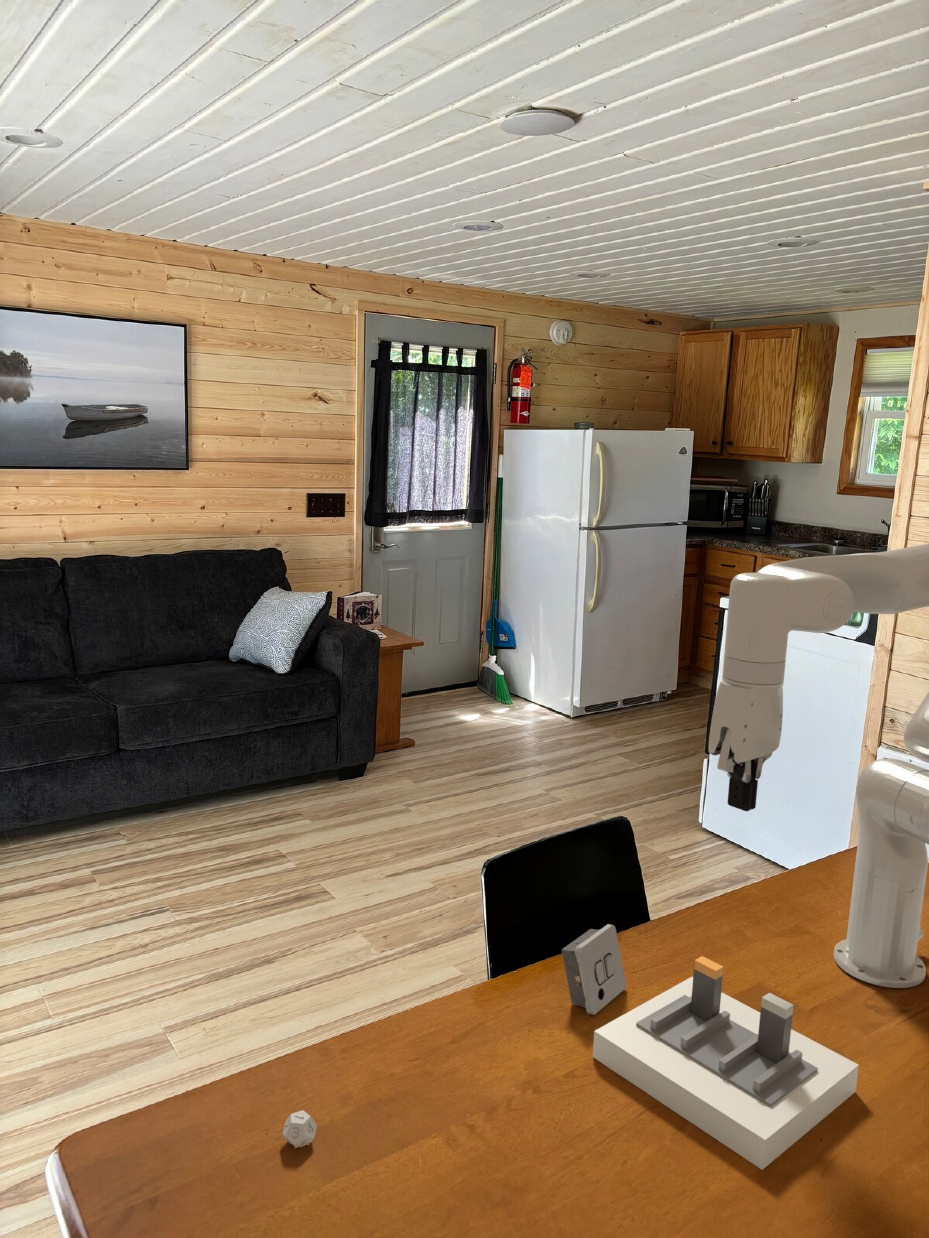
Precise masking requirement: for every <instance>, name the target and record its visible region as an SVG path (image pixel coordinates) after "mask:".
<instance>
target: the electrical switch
mask: <svg viewBox="0 0 929 1238" xmlns="http://www.w3.org/2000/svg"><path fill="white" fill-rule="evenodd" d="M561 954H562V960H563V966H564V969H565V974H566V975H565V977H566V980H567V986H568V990H569V997H570V1000H571V1005H572V1006H579V1007H581V1008H585V1010H586V1012H585V1013H587V1014H588V1015H597V1013H598V1012H600V1011H601V1010H602V1009H603V1008H604V1007H605V1006H607V1005H608V1004H609V1003H610V1002H612V1001H613V1000H615V998H617V996H619V994H621V993H622V992H623V991H625V989H626V987H627V982H626V981H627V980H626V976H625V970H624V965H623V959H622V954H621V949H620V945H619V939H618V934H617V929H616V926H615V925H613V924H609V923H607V924H606V925H604V926H603V927H602V928H600V929H595V928H594V929H593V928H590V929H588V930H587V931H585V932H584V933H582V934H581V935H580V936H578V937H577V938H576V939H574V940H573V941H571V942H570V943H569V944H567V945H566V946H565V947H563V948H562V949H561ZM575 977H576V978H575Z"/></svg>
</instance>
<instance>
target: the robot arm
mask: <svg viewBox="0 0 929 1238" xmlns="http://www.w3.org/2000/svg"><path fill="white" fill-rule="evenodd" d="M927 607H929V543H925V544H919V545H914V546H909V547H903V548H896V549H893V550H886V551H880V552H863V553H860V552H859V553H851V554H842V555H841V554H840V555H839V554H838V555H824V556H823V555H822V556H821V555H820V556H812V557H800V558H797V559H790V560H789V559H788V560H785V561H779V562H776V563H775V562H774V563H771V564H770V563H769V564H768V565H765V566H764V567H761V569H759V570H757V572H744V573H740V574H736V575H735V576H734V577H733V579H732V580H731V581H730V587H729V595H728V606H727V619H726V631H725V639H724V640H725V642H724V643H725V644H724V655H723V664H722V665H723V666H722V667H723V668H722V677H721V678H722V680H721V681H720V683H719V685H718V688H717V692H716V696H715V698H714V699H715V700H714V705H713V710H712V716H711V723H710V729H709V730H710V731H709V735H708V736H709V737H708V753H709V754H710V755H712V756H719V757H718V762H717V767H716V768H717V769H718V770H719V771H723V772H725V773H726V774H727V777H728V778H729V781H728V794H727V795H728V796H727V805H728V806H730V807H732V808H736V809H738V810H741V811H744V812H749V811H752V810H755V809H756V806H757V794H758V785H759V784H758V782H759V779H760V778H761V777H762V776H761V775H762V771H763V764H765V762H766V761H767V760H769V759H770V758H771V757H772V756H773V752H775V751H776V750H778V748H779V746H780V743H781V737H782V729H783V713H784V712H783V711H784V694H783V693H784V692H783V691H784V690H783V686H784V682H785V681H784V680H785V671H786V661H787V659H786V658H787V650H788V640H789V639H788V638H789V632H790V633H791V631H794V632H804V633H813V634H814V633H815V634H823V633H824V634H826V633H830V632H834V631H836V630H839V629H840V628H842V627H843V626H844V625H846V624H847V622H849V620H850V618H851V617H852V615H853V613H860V614H869V615H895V614H899V613H900V614H901V613H904V612H908V611H909V612H910V611H912V610H913V611H914V610H917V609H918V610H919V609H922V608H927ZM903 743H904V746H905V749H907V751H908V752H909V754H911V755H912V756H914V757H915V758H916V759H918V760H920V761H922V762H924V763H927V764H929V691H928V692H927V694H926V695H925V697H924V698H923V699H922V701H921V703H920V705H919V706H918V707H917V709H916V710H915V712H914V713H913V715H912V716H911V719H910V720H909V722H908V723H907V725H906V727H905V730H904V733H903ZM855 800H856V801H855V802H856V803H855V805H856V812H857V823H858V833H857V844H856V845H857V847H856V848H857V849H856V855H855V861H854V862H855V864H854V872H853V879H852V880H853V883H852V887H851V888H852V891H851V897H850V907H849V915H848V924H847V925H848V926H847V933H846V938H845V939H842V940H840V941H839V942H838V943H836V944H835V946H834V949H833V959H834V961H835V962H836V964H837V965H838V966H839V968H840V969H842V970H843V971H844V972H845V973H847V974H848V975H850V976H852V977H854V978H856V979H858V980H860V981H863V982H865V983H868V984H871V985H874V986H879V987H883V988H890V989H907V988H913V987H916V986H918V985H920V984H922V983H923V981H924V980H925V978H926V974H927V973H926V971H927V968H926V965H925V964H924V962H923V960H922V959H921V958H919V956H918V955H917V950H918V949H917V948H918V944H919V943H918V942H919V940H921V939H922V938H923V937H924V931H923V929H922V927H920V926H921V919H922V911H923V904H924V903H923V902H924V895H925V888H926V880H927V876H928V874H927V873H928V867H929V865H928V864H929V857H928V850H927V845H929V769H927V768H924V767H921V766H919V765H916V764H913V763H910V762H908V761H905V760H901V759H898V758H879V759H876V760H874V761H871V762H869V764H867V765H866V766H865V767H864V768H863V770H862V771H861V772H860V774H859V776H858V779H857V782H856V788H855ZM926 844H927V845H926Z"/></svg>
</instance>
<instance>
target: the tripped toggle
mask: <svg viewBox="0 0 929 1238" xmlns="http://www.w3.org/2000/svg"><path fill="white" fill-rule="evenodd" d="M693 965H694V966H693V974H692V975H693V976H692V977H693V986H692V998H691V1010H690V1012H692V1013H694V1014H696V1015H697V1016H699V1017H701V1018H703V1019H704V1020H706V1021H708V1020H710V1019H712V1018H713V1017H715V1016H717V1015H718V1014H719V1013H720V1001H721V992H722V988H723V979H724V966H723V965H721V964H719V963H717V962H715V961H713V960H711V959H709V958H707V957H705V956H703V955H701V956H700V957H698V958H696V959H694V964H693Z"/></svg>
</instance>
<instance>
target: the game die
mask: <svg viewBox="0 0 929 1238" xmlns="http://www.w3.org/2000/svg"><path fill="white" fill-rule="evenodd" d="M317 1127H318V1124H317V1123H316V1122H315V1120H314V1119H313V1117H312V1116H311V1115H310V1114H308V1113H307V1112H306V1111H305V1110H303V1109H302V1110H299V1111H296V1112H292V1113H290V1115H289V1116H288V1117H287V1118H286V1120H285V1123H284V1127H283V1131H282V1136H283V1137H284V1138H285V1140H286V1139H287V1140H288V1141H290V1143H291V1144H293V1145H294V1146H295V1147H298V1146H301V1145H304V1144H308V1143H310V1144H311V1143H312V1142H313V1140H314V1139H315V1137H316V1131H317ZM287 1140H286V1141H287ZM288 1141H287V1142H288ZM290 1143H289V1144H290ZM291 1144H290V1145H291ZM295 1147H294V1148H295Z"/></svg>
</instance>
